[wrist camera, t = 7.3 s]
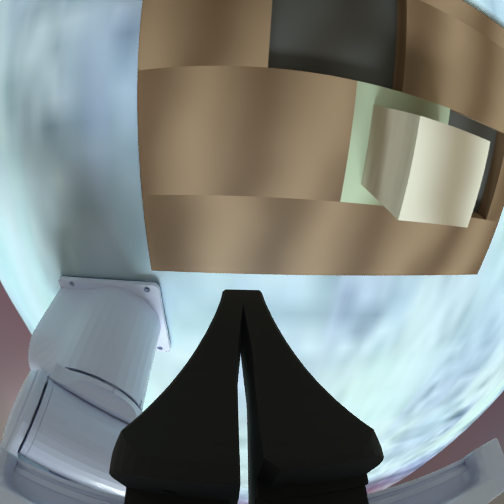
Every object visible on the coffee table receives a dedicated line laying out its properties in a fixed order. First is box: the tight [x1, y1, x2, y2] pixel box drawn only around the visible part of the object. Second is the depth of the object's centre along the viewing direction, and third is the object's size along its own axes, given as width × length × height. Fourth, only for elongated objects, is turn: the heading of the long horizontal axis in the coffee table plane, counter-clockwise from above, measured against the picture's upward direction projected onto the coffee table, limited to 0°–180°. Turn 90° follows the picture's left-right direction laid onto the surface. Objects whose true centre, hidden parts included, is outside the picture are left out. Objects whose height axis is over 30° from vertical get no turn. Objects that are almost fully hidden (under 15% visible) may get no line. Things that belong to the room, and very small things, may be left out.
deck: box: [137, 0, 504, 275], centre depth 15 cm, size 28×22×2 cm
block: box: [361, 105, 490, 227], centre depth 13 cm, size 5×5×5 cm
